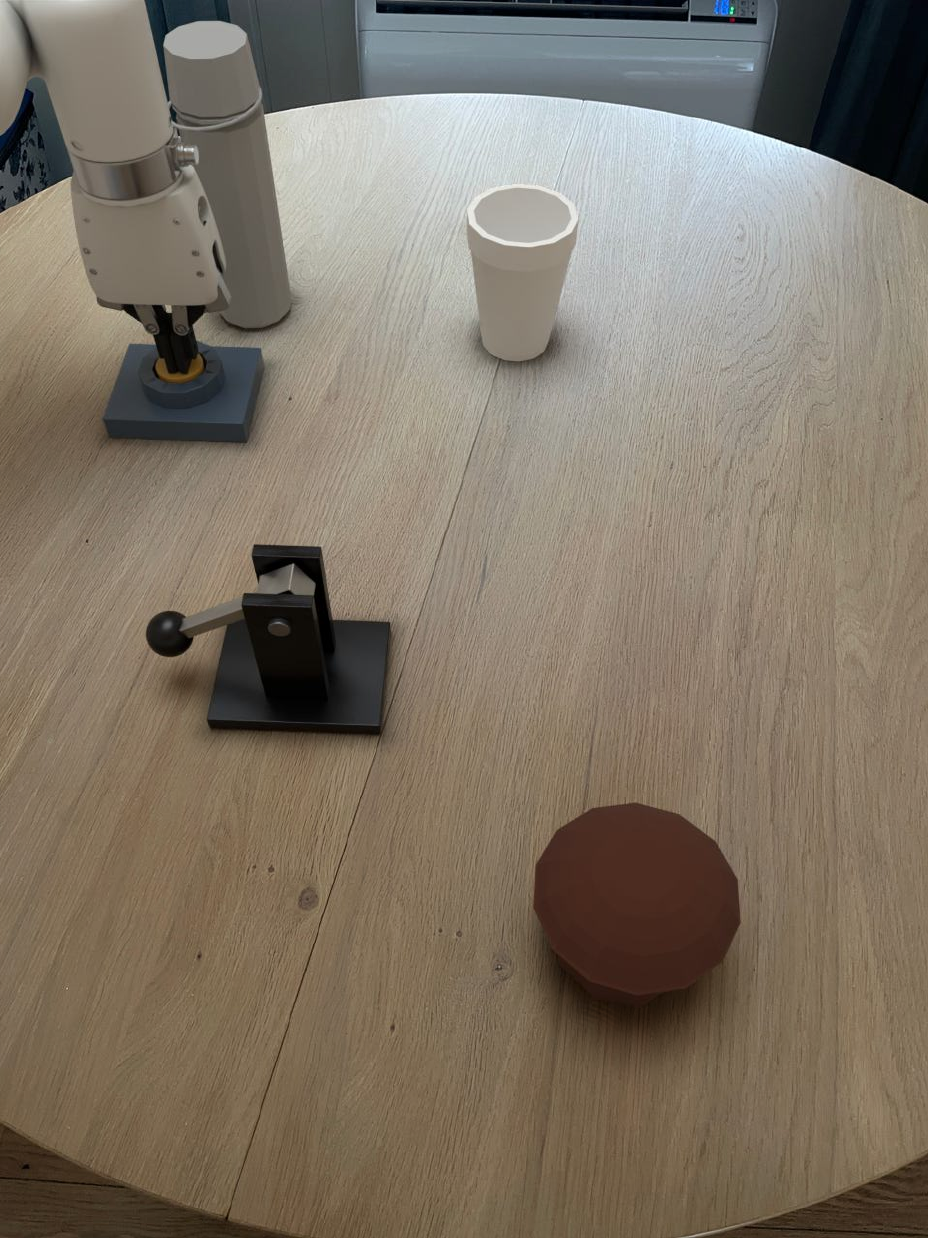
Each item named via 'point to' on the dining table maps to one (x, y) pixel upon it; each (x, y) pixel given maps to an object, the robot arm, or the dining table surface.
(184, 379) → the button
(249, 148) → the water bottle
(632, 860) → the muffin
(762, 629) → the dining table surface
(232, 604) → the tap lever
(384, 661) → the bracket
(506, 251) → the foam cup
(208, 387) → the button housing
